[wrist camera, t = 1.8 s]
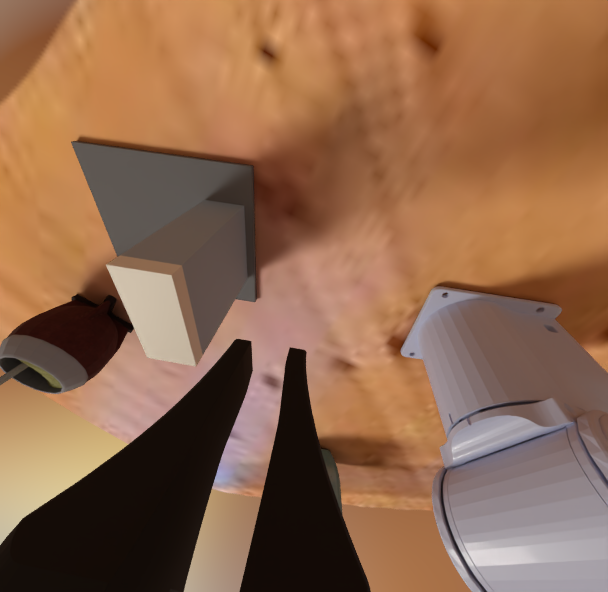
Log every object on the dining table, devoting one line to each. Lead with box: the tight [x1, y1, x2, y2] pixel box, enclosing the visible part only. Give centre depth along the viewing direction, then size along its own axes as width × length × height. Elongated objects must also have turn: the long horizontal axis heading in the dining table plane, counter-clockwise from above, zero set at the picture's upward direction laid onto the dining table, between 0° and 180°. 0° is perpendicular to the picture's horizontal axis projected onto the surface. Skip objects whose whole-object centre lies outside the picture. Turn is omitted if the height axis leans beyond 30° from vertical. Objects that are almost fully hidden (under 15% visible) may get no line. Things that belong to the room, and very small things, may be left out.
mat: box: [71, 141, 256, 302], centre depth 19 cm, size 12×11×1 cm
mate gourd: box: [0, 294, 134, 394], centre depth 21 cm, size 8×8×15 cm
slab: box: [106, 200, 248, 366], centre depth 16 cm, size 3×6×9 cm, turn 175°
